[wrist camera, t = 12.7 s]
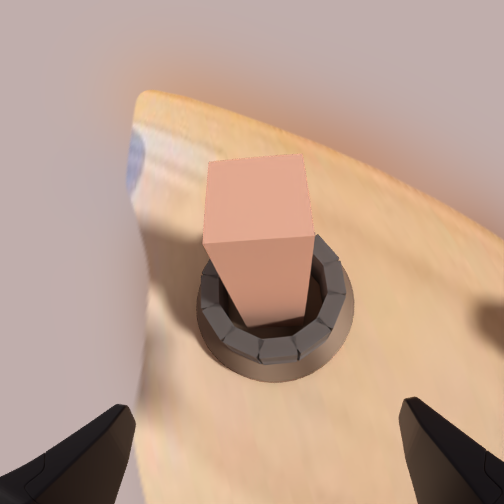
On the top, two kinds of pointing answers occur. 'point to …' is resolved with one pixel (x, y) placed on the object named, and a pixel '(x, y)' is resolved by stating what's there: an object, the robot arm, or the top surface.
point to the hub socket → (280, 338)
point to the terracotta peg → (261, 236)
